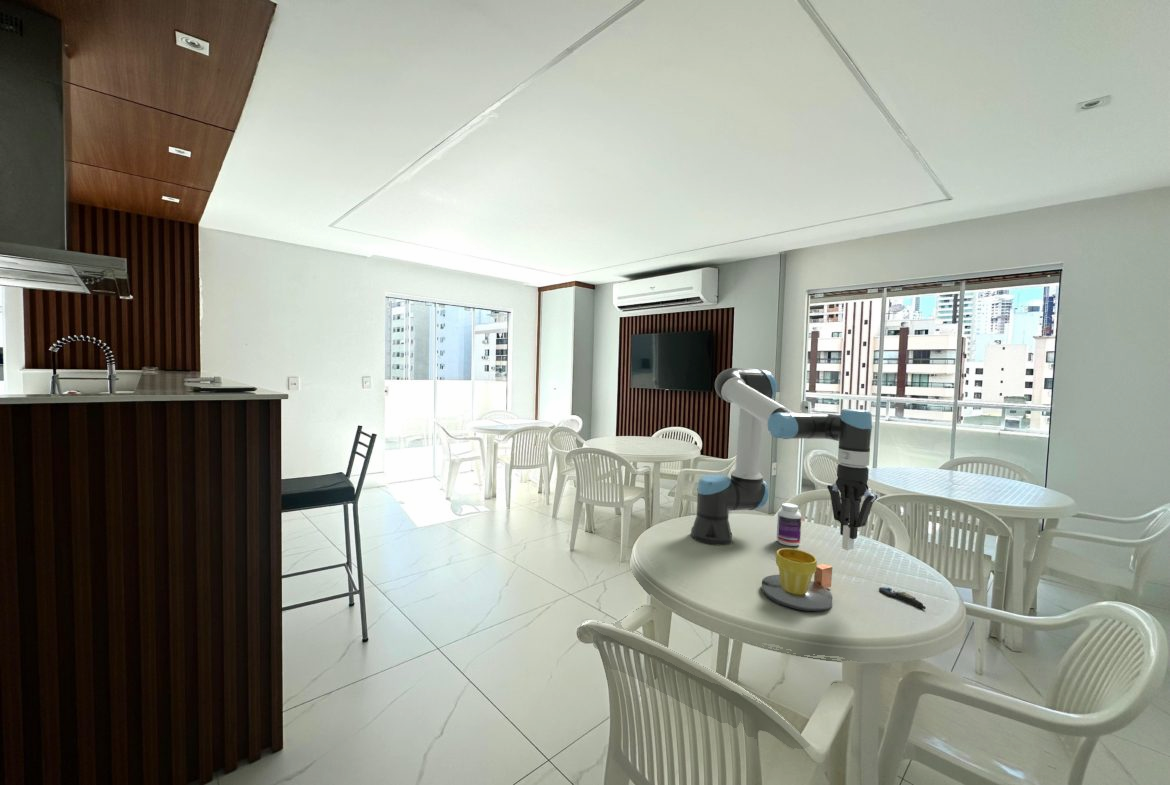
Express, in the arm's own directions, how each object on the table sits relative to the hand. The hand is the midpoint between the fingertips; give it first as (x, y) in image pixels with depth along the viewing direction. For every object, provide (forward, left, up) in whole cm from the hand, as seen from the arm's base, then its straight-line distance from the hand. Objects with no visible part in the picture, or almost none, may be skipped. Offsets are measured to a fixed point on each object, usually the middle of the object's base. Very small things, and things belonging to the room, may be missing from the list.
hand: (847, 548), depth 125 cm
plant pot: (-7, -13, -12) cm, 19 cm away
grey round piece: (-7, -10, -14) cm, 18 cm away
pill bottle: (-36, +22, -15) cm, 44 cm away
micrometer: (+7, +15, -15) cm, 22 cm away
